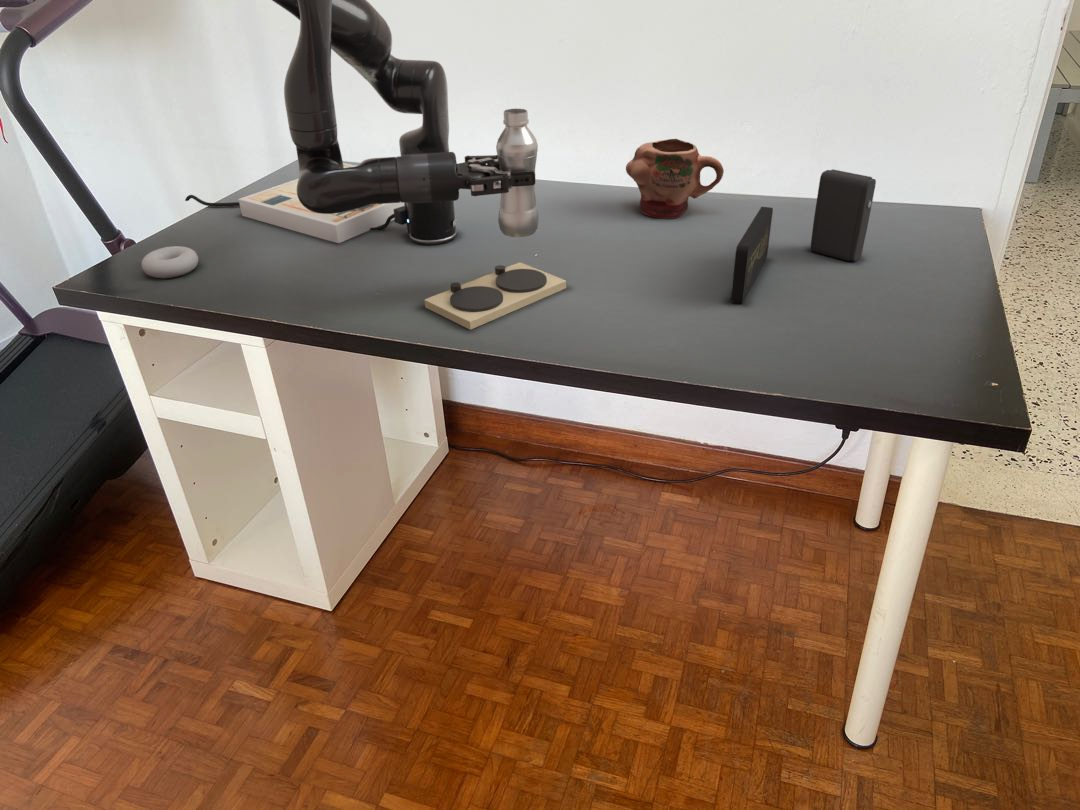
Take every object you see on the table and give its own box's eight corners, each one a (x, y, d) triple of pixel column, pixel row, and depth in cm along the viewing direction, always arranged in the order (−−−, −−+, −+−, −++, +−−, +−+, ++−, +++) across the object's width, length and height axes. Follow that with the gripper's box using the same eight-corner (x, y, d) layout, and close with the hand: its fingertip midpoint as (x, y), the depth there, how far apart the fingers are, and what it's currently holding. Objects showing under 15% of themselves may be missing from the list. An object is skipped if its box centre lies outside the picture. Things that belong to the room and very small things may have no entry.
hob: (425, 307, 141) (423, 292, 140) (520, 269, 154) (519, 255, 152) (470, 330, 134) (469, 314, 133) (566, 288, 146) (566, 274, 145)
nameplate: (741, 305, 138) (748, 248, 133) (730, 303, 139) (736, 246, 134) (766, 258, 155) (773, 206, 149) (756, 257, 155) (762, 204, 150)
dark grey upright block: (864, 257, 154) (880, 176, 146) (854, 264, 151) (869, 182, 143) (818, 245, 159) (830, 166, 151) (807, 252, 157) (819, 172, 149)
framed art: (335, 225, 165) (238, 198, 181) (338, 243, 167) (242, 215, 183) (439, 183, 186) (343, 162, 201) (440, 199, 188) (346, 178, 203)
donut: (176, 284, 153) (211, 262, 161) (171, 267, 151) (207, 245, 159) (132, 278, 156) (168, 257, 164) (126, 261, 154) (163, 240, 162)
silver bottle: (498, 229, 143) (492, 107, 132) (537, 227, 143) (535, 105, 133) (499, 242, 137) (494, 116, 127) (540, 241, 138) (539, 115, 127)
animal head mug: (721, 204, 180) (727, 138, 172) (718, 224, 170) (724, 155, 162) (628, 199, 184) (630, 135, 177) (620, 219, 174) (621, 151, 167)
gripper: (426, 167, 125) (538, 160, 127) (423, 142, 137) (525, 136, 139) (431, 216, 129) (539, 208, 131) (427, 187, 141) (526, 181, 143)
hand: (531, 171), depth 135 cm, fingers closed on silver bottle, 6 cm apart
